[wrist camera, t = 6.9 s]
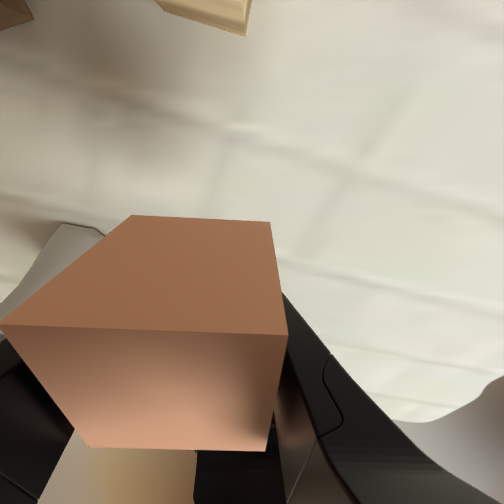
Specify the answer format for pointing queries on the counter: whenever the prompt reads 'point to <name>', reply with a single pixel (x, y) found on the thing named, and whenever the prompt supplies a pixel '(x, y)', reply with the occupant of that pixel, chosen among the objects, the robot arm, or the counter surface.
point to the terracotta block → (162, 335)
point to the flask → (51, 263)
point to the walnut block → (13, 13)
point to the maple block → (212, 12)
